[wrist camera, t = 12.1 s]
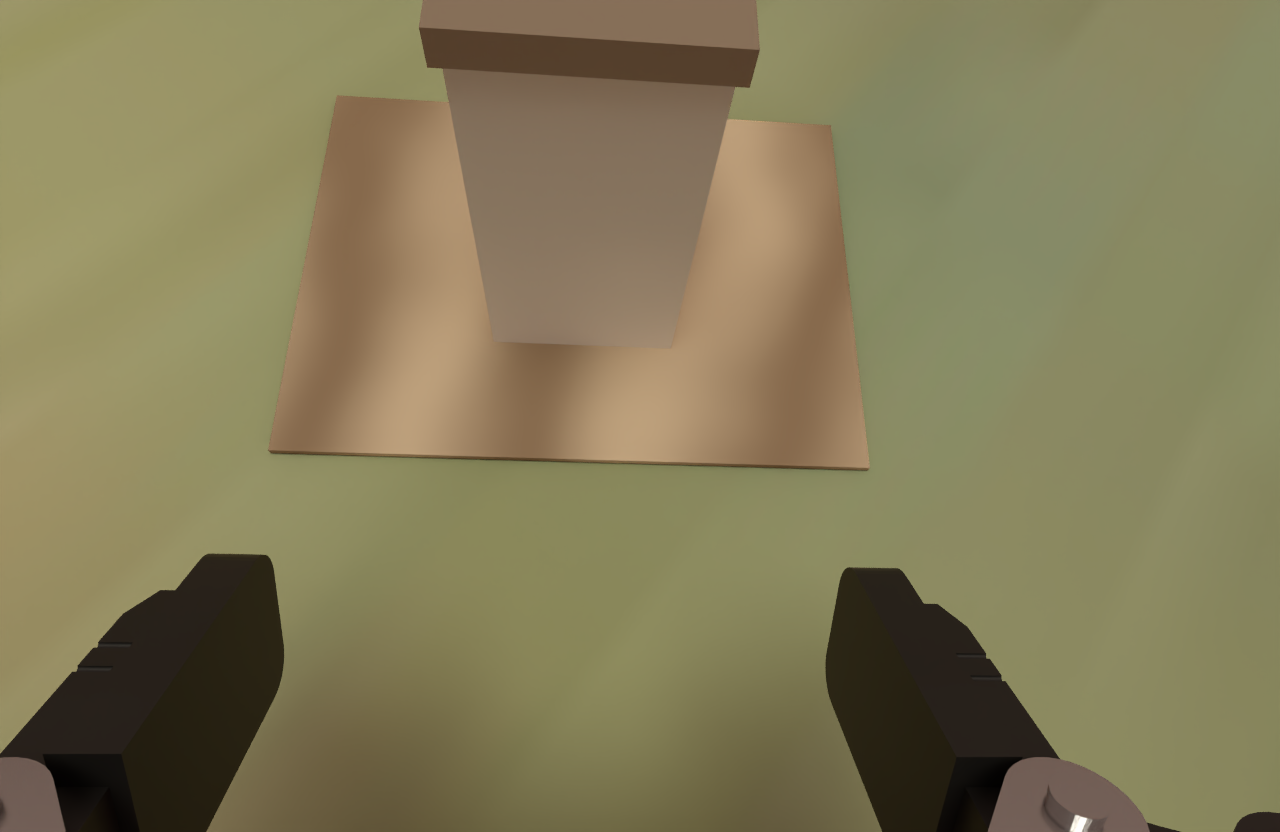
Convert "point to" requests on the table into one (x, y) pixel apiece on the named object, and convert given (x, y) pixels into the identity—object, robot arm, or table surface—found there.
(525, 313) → the canister
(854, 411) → the mat
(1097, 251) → the table surface
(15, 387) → the table surface
